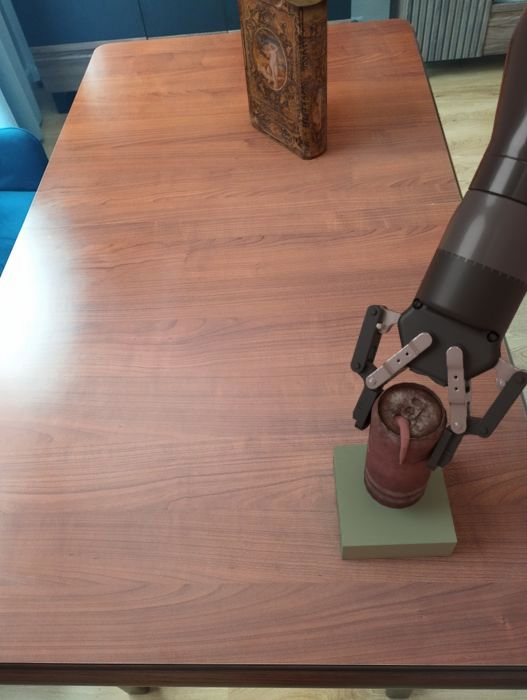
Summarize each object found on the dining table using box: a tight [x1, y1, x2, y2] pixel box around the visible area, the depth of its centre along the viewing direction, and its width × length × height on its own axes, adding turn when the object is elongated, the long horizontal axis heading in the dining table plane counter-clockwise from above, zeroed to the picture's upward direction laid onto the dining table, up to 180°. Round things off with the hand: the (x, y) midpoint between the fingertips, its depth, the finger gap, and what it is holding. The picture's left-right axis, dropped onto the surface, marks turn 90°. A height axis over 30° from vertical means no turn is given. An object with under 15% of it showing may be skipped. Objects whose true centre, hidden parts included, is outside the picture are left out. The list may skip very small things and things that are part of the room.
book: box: [237, 0, 329, 161], centre depth 97 cm, size 16×6×25 cm, turn 39°
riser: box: [332, 443, 458, 560], centre depth 61 cm, size 11×11×4 cm
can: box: [364, 381, 448, 509], centre depth 53 cm, size 6×6×14 cm
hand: (395, 446), depth 50 cm, fingers closed on can, 6 cm apart
